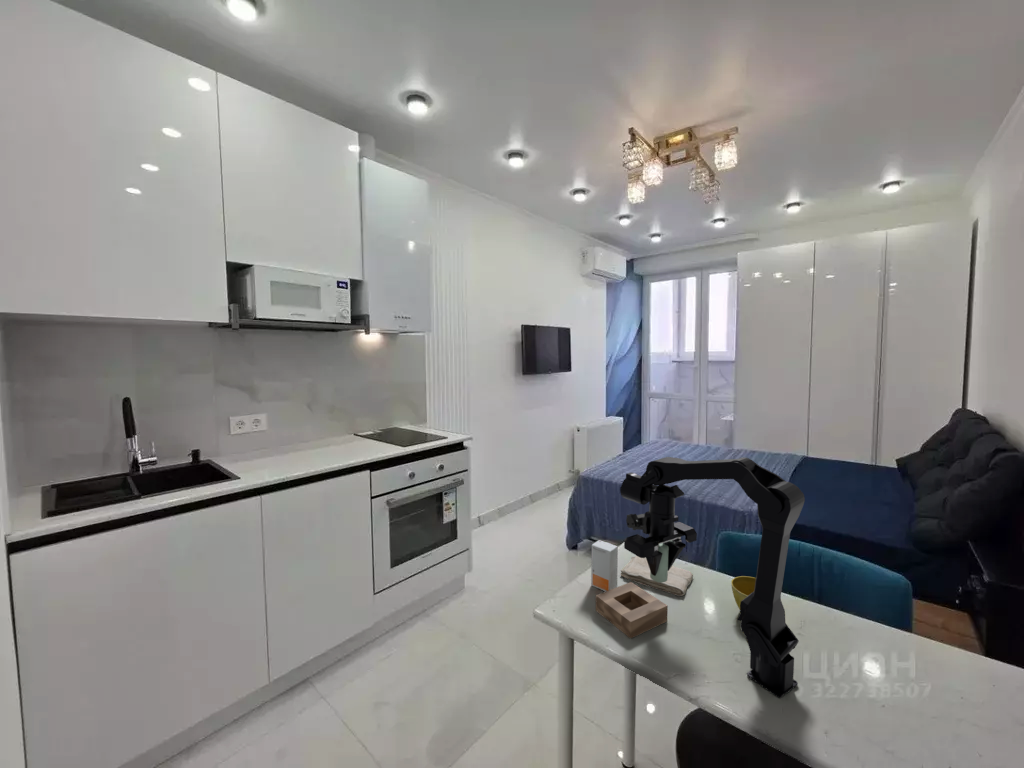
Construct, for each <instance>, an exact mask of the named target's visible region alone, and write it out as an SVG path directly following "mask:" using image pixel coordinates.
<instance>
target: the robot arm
mask: <svg viewBox="0 0 1024 768" xmlns="http://www.w3.org/2000/svg"><path fill="white" fill-rule="evenodd" d="M686 480H689V481H691V480H692V481H693V480H697V481H698V480H734V482H736V483H737V484H738V485H739V486H740V488H741V489H742V490H743V492H744V493H745V494H746V497H748V498H749V499H750V500H752V502H754V503H755V504H756V505H757V516H758V519H759V522H760V525H761V529H762V531H761V538H760V546H759V554H758V560H757V568H756V575H755V578H756V581H755V589H754V592H752V593H751V594H750V595H748V596H747V597H746V598H745V599H743V600H742V601H741V603H740V610H739V611H740V612H739V617H737V621H738V622H739V621H740V630H741V632H742V633H743V634H744V636H745V639H746V642H747V645H748V649H749V651H750V653H749V654H750V659H749V662H750V663H749V667H750V669H751V670H749V671H747V673H746V675H747V677H748V678H749V679H751V680H752V681H754V682H755V683H757V685H760V687H762V688H763V689H765V690H767V691H768V692H770V693H772V695H774V696H775V697H777V698H779V699H780V698H783V697H784V696H785V695H787V694H788V693H789V692H790V691H792V690H793V689H794V688H796V687H797V686H798V684H799V683H798V681H797V680H795V679H794V675H795V674H794V673H795V657H794V656H792V655H791V654H790V653H791V652H792V650H794V649H795V648H796V646H797V645H798V644H799V639H798V638H797V636H796V634H794V632H793V631H792V630H791V628H790V627H789V625H788V624H787V623H786V612H785V611H786V609H785V608H784V605H783V602H782V599H781V598H782V596H781V595H782V591H783V590H782V589H783V582H784V576H785V571H786V570H785V569H786V564H787V563H786V562H787V557H788V550H789V543H790V537H791V531H792V530H793V528H794V526H795V524H796V522H797V521H798V519H799V517H800V515H801V512H802V510H803V507H804V504H805V501H806V500H805V494H804V492H803V491H802V490H801V489H800V488H799V487H798V486H797V485H796V484H794V483H793V482H790V481H786V480H785V479H784V478H782V477H781V476H779V475H778V474H777V473H774V472H773V471H770V470H768V469H766V468H765V467H762V466H761V465H760V464H758V463H756V461H754V460H752V459H751V458H749V457H740V458H730V459H710V460H709V459H708V460H685V459H683V458H680V457H679V458H678V457H673V456H666V457H662V458H659V459H655V460H652V461H649V462H648V463H647V465H646V468H645V472H644V473H643V474H642V475H640V474H639V475H638V474H637V473H635V472H627V473H625V478H624V479H623V481H622V483H621V486H620V487H619V488H620V489H619V491H620V492H619V493H620V496H621V497H622V498H623V499H626V500H628V501H631V502H634V503H637V504H640V505H643V506H645V505H647V504H648V503H649V507H648V509H649V510H648V511H646V512H644V513H641V514H640V513H639V514H637V513H634V514H633V513H630V514H627V515H626V527H627V528H629V529H632V530H633V531H636V530H640V531H642V533H643V534H645V535H648V536H647V537H644V536H642V535H640V534H638V533H637V534H633V535H630V536H627V537H625V538H624V540H623V542H624V543H623V547H624V549H625V550H626V551H628V552H630V553H631V554H633V555H635V556H638V557H640V558H646V560H647V562H648V565H649V568H650V571H651V574H652V575H654V576H656V574H657V571H658V568H659V564H660V561H661V557H662V553H661V552H659V551H658V546H659V544H662V543H664V544H666V545H667V546H668V547H669V550H668V571H669V570H670V568H671V566H674V563H675V562H676V560H677V558H678V557H679V555H680V554H681V552H682V551H683V550H684V548H686V546H687V544H686V543H684V542H683V541H682V539H681V538H682V537H684V536H685V537H684V540H685V541H686V542H687V543H689V544H690V543H693V542H696V541H697V540H698V539H697V538H698V536H697V535H698V533H697V531H696V530H695V528H694V527H692V526H689V525H688V524H685V523H683V522H680V521H679V516H678V515H677V514H676V513H675V512H676V511H675V509H676V508H675V507H676V499H677V498H681V497H682V496H684V495H685V492H684V491H683V490H682V489H681V488H679V486H678V484H675V485H672V486H671V485H670V486H669V485H668V484H673V483H677V482H681V481H686ZM675 514H676V515H675Z"/></svg>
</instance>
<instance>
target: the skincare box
mask: <svg viewBox="0 0 1024 768" xmlns="http://www.w3.org/2000/svg"><path fill="white" fill-rule="evenodd" d="M618 549H619V547H618V546H617V545H615V544H612V543H610V542H608V541H607V542H606V541H603V540H601V539H599V540H597V541H595V542H594V543H592V544H591V560H590V561H591V562H590V563H591V564H590V565H591V571H590V572H591V575H590V577H591V579H590V581H591V583H590V585H591V586H592V587H594V588H597V589H600V590H601V591H604V592H606V591H609V590H611V589H614V588H616V587H618V555H619V551H618Z"/></svg>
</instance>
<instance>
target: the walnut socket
mask: <svg viewBox="0 0 1024 768" xmlns="http://www.w3.org/2000/svg"><path fill="white" fill-rule="evenodd" d="M668 607H669V606H668V605H667V604H666V603H665V602H663V601H661V600H660V599H658V598H657V597H656V596H654V595H652V594H650V593H649V592H647V591H646V590H644V589H642V588H641V587H639V586H638V585H637V584H635V583H633V581H630V582H627V583H624V584H622V585H619V586H617V587H616V588H614V589H611V590H609V591H606V592H605V591H604V592H601V593H599V594H596V595H595V611H596V612H597V613H598V614H599V615H600V616H602V618H604V619H605V620H607V621H608V622H609V623H610V624H612V626H614V627H615V628H617V629H618V630H619V631H620V632H622V633H623V634H624V635H626V636H627V637H628V638H629V639H633V638H635V637H637V636H639V635H641V634H643V633H646V632H648V631H650V630H652V629H654V628H657V627H658V626H661V625H662V624H664V623H666V622H668V613H669V612H668Z"/></svg>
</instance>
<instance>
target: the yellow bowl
mask: <svg viewBox="0 0 1024 768" xmlns="http://www.w3.org/2000/svg"><path fill="white" fill-rule="evenodd" d="M755 581H756V577H753V576H746V575H741V576H735V577H734V578H732V579H731V583H730V584H731V585H730V586H731V590H732V594H733V598H734V601H735V603H736V605H737V606H736V607H737V608H738V609H739V611H740V603H741V601H742V600H743V599H745V598H746V597H747V596H748V595H750V594H751V593H752V592H754V589H755Z"/></svg>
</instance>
